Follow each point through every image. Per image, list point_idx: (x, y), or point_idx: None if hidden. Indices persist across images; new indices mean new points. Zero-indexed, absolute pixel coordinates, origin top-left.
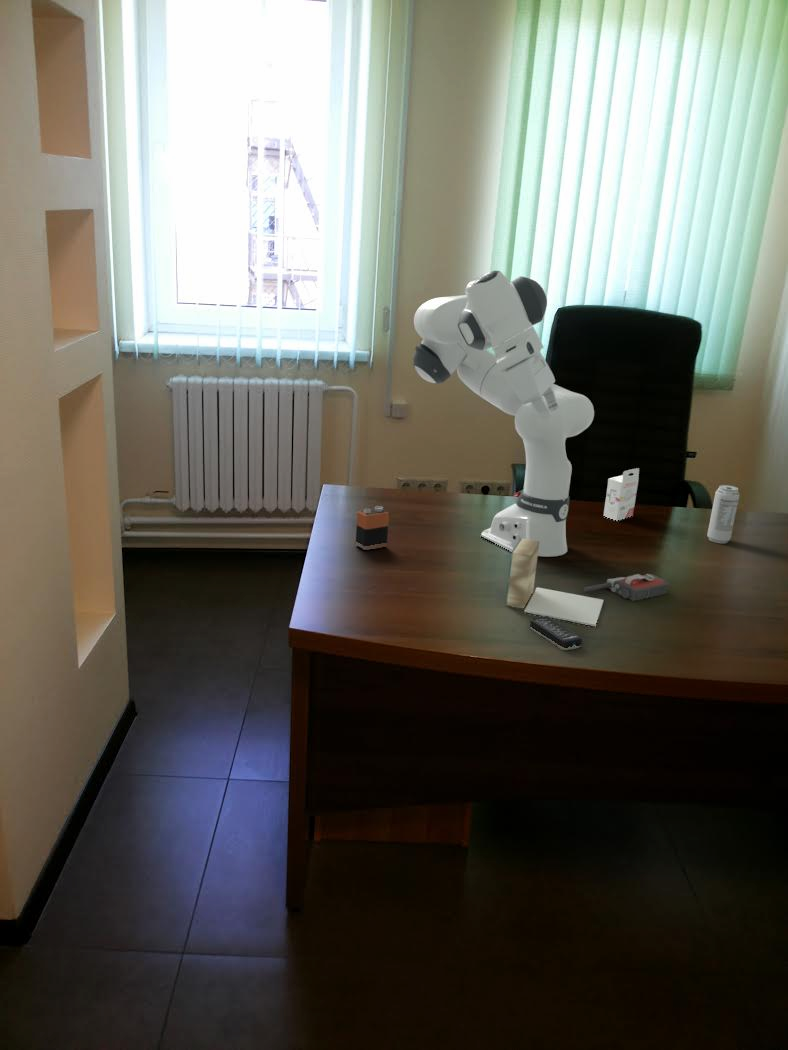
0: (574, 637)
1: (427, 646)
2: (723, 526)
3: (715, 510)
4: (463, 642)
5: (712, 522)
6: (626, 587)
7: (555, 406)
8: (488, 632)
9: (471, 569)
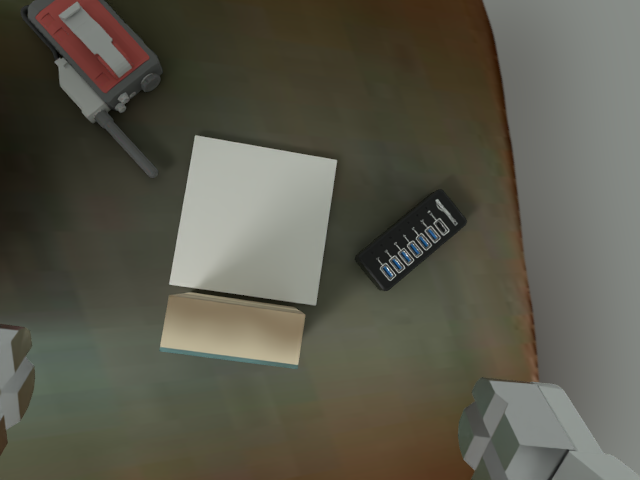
0: (442, 203)
1: None
2: None
3: None
4: None
5: None
6: (140, 77)
7: (16, 359)
8: (430, 368)
9: (85, 453)
